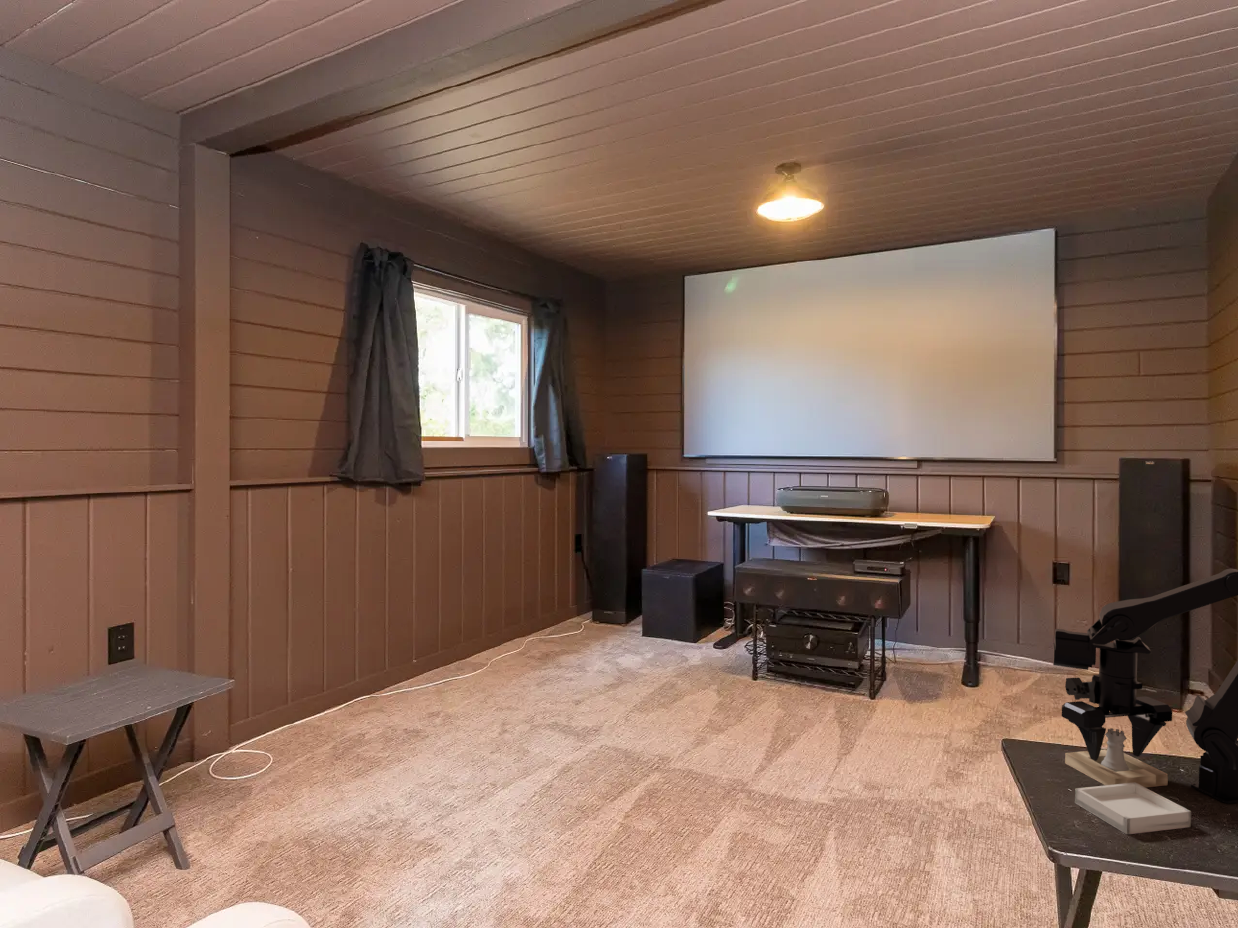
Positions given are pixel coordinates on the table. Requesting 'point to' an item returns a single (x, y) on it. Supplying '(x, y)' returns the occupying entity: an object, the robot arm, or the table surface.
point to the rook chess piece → (1115, 751)
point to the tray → (1132, 808)
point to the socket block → (1106, 776)
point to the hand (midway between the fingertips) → (1115, 757)
